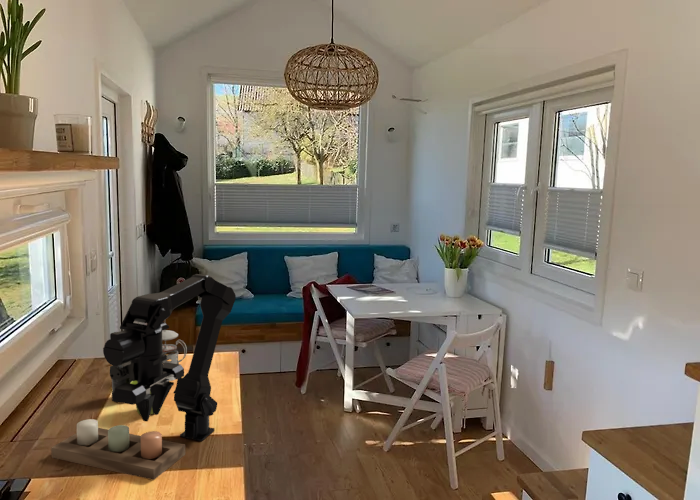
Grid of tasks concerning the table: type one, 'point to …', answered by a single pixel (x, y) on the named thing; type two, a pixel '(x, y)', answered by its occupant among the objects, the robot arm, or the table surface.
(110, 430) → the button sage
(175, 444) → the wooden compartment tray
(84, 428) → the button cream
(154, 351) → the robot arm
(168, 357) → the french press
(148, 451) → the button rust
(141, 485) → the table surface
